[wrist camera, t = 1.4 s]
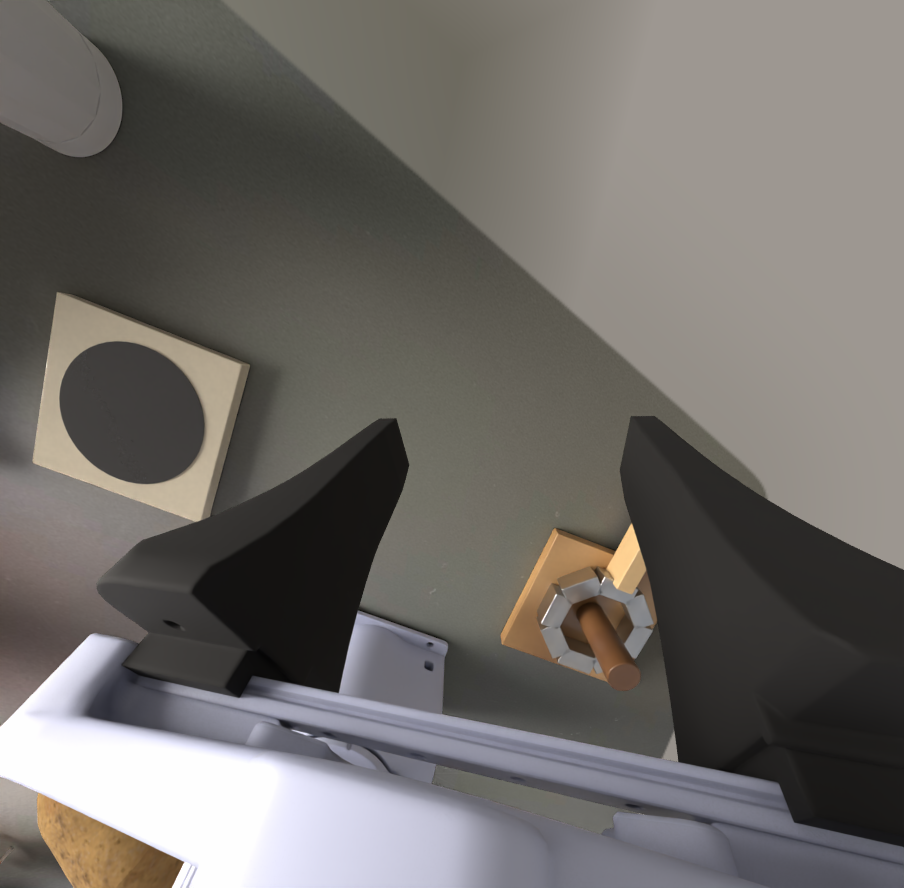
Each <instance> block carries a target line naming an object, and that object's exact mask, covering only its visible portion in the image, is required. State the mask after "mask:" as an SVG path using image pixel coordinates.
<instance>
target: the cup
mask: <svg viewBox="0 0 904 888" xmlns="http://www.w3.org/2000/svg"><path fill="white" fill-rule="evenodd" d="M121 118H122V96H121V91H120V87H119V83H118V80H117V78H116V75H115V73H114V71H113V69H112V67H111V65H110V64H109V62H108V60H107V59H106V58H105V56H104V55H103V54H102V53H101V51H100V50H99V49H98V48H97V47H96V46H95V45H94V44H92V43H91V42H90V41H89V40H88V39H87V38H86V37H85V36H83V35H82V34H81V33H80V32H79V31H78V30H77V29H76V28H75V27H73V26H72V25H71V24H70V23H69V22H68V21H67V20H66V19H65V18H64V17H63V16H62V15H61V14H60V13H59V12H58V11H57V10H56V9H55V8H54V7H53V6H52V5H51V4H50V3H49V2H48V1H47V0H0V123H2V124H4V125H6V126H8V127H10V128H12V129H15V130H17V131H19V132H21V133H23V134H25V135H27V136H29V137H31V138H33V139H35V140H37V141H39V142H40V143H42V144H44V145H46V146H48V147H50V148H51V149H53V150H55V151H57V152H59V153H62V154H64V155H68V156H72V157H87V156H91V155H94V154H97V153H99V152H101V151H102V150H104V149H105V148H106V147H107V146H108V145H109V144H110V143H111V142H112V141H113V139H114V138H115V136H116V134H117V132H118V129H119V126H120V123H121Z"/></svg>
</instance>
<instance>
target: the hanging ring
mask: <svg viewBox="0 0 904 888" xmlns="http://www.w3.org/2000/svg"><path fill="white" fill-rule="evenodd" d="M645 572H646V567H645V563H644V560H643V557H642V554H641V551H640V548H639V544H638V541H637V538H636V535H635V532H634V529H633V525H632V523H631V525H630V527H629V529H628V531H627V532H626V534H625V536H624V538H623V540H622V541H621V543H620V545H619V547H618V549H617V551H616V552H615V554H614V556H613V558H612V560H611V561H610V563H609V565H608V567H607V569H604V568H602V567H599V566H597V568H596V570H595V571H593V569H592V568H591V567H590V566H589V567H586V568H584V569H581V570H578V571H575V572H573V573H570V574H567V575H564V576H562V577H559V578H557V581H558V583H559V586H558V585H556V584H553V583H551V585H550V587H549V588H548V590H547V592H546V594H545V596H544V598H543V600H542V602H541V604H540V606H539V608H538V610H537V613H538V617H536V618H537V621H538V625H539V628H540V631H541V633H542V635H543V638H544V640H545V642H546V645H547V647H548V649H549V652H550V654H551V656H552V658H556V659H557V662H558V663H559V664H562V665H565V666H568V667H571V668H573V669H576V670H579V671H582V672H585V673H587V674H590V672H591V670H592V669H593V668H594V670H595V673H596V674H599V673H602V672H603V671H602V669H601V667H600V665H599V663H598V661H597V659H596V656H595V654H594V652H593V650H592V648H591V646H590V644H586V643H583V642H580V641H578V640H575V639H572V638H569V637H567V636H564V634H563V632H562V630H561V627H560V626H561V624H562V622H563V621H564V619H565V617H566V615H567V613H568V611H569V609H570V608H571V606H572V604H574V603H577V602H580V601H583V600H586V599H589V598H591V597H594V596H597V595H602V596H605V597H608V598H610V599H613V600H616V601H618V602H621V605H622V607H623V610H624V613H625V615H624V617H623V619H622V620H621V622H620V624H619V625H618V627H617V629H616V632H617V634H618V635H619V637H620V638H621V640H622V642H623V643H624V645H625V647H626V648H627V650H628V652H629V653H630V655H631V656H632V657H633V658H637V656H638V655H639V653H640V651H641V650H642V648H643V646H644V645H645V643H646V641H647V640H648V638H649V637H650V635H651V633H652V632H653V630H652V628H651V627H650V626H649V625H652V624H654V622H653V620H652V617H651V614H650V611H649V608H648V605H647V603H646V600H645V597H644V594H643V593H642V592H641V591H640V590H639V588H638V587H637V586H638V584H639V582H640V580H641V579H642V577H643V575H644V574H645Z"/></svg>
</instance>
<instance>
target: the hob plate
mask: <svg viewBox="0 0 904 888" xmlns="http://www.w3.org/2000/svg"><path fill="white" fill-rule="evenodd" d="M249 368H250V365H249V364H247V363H244V362H242V361H239V360H237V359H234V358H232V357H229V356H227V355H224V354H222V353H219V352H217V351H214V350H212V349H209V348H206V347H204V346H201V345H199V344H196V343H194V342H191V341H189V340H186V339H184V338H181V337H179V336H176V335H174V334H171V333H168V332H166V331H163V330H161V329H158V328H156V327H153V326H151V325H148V324H146V323H143V322H141V321H138V320H136V319H133V318H130V317H128V316H125V315H123V314H120V313H118V312H115V311H113V310H110V309H108V308H105V307H103V306H100V305H98V304H95V303H92V302H90V301H87V300H85V299H82V298H80V297H77V296H75V295H71V294H66V293H61V292H57V295H56V302H55V309H54V316H53V323H52V330H51V337H50V344H49V351H48V358H47V365H46V371H45V378H44V385H43V392H42V399H41V406H40V413H39V420H38V427H37V434H36V441H35V448H34V455H33V461H32V463H34V464H37V465H39V466H42V467H45V468H48V469H50V470H53V471H56V472H59V473H62V474H64V475H67V476H70V477H73V478H75V479H78V480H81V481H84V482H87V483H89V484H92V485H95V486H98V487H100V488H103V489H106V490H109V491H112V492H114V493H117V494H120V495H123V496H125V497H128V498H131V499H134V500H137V501H139V502H142V503H145V504H148V505H150V506H153V507H156V508H159V509H162V510H164V511H167V512H170V513H173V514H175V515H178V516H181V517H184V518H187V519H189V520H192V521H195V522H198V521H200V520H203V519H205V518H208V517H210V514H211V510H212V506H213V503H214V499H215V495H216V491H217V488H218V484H219V480H220V477H221V473H222V469H223V465H224V462H225V458H226V454H227V450H228V447H229V443H230V439H231V436H232V432H233V428H234V424H235V421H236V417H237V413H238V409H239V406H240V402H241V398H242V394H243V391H244V387H245V383H246V380H247V376H248V372H249Z"/></svg>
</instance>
